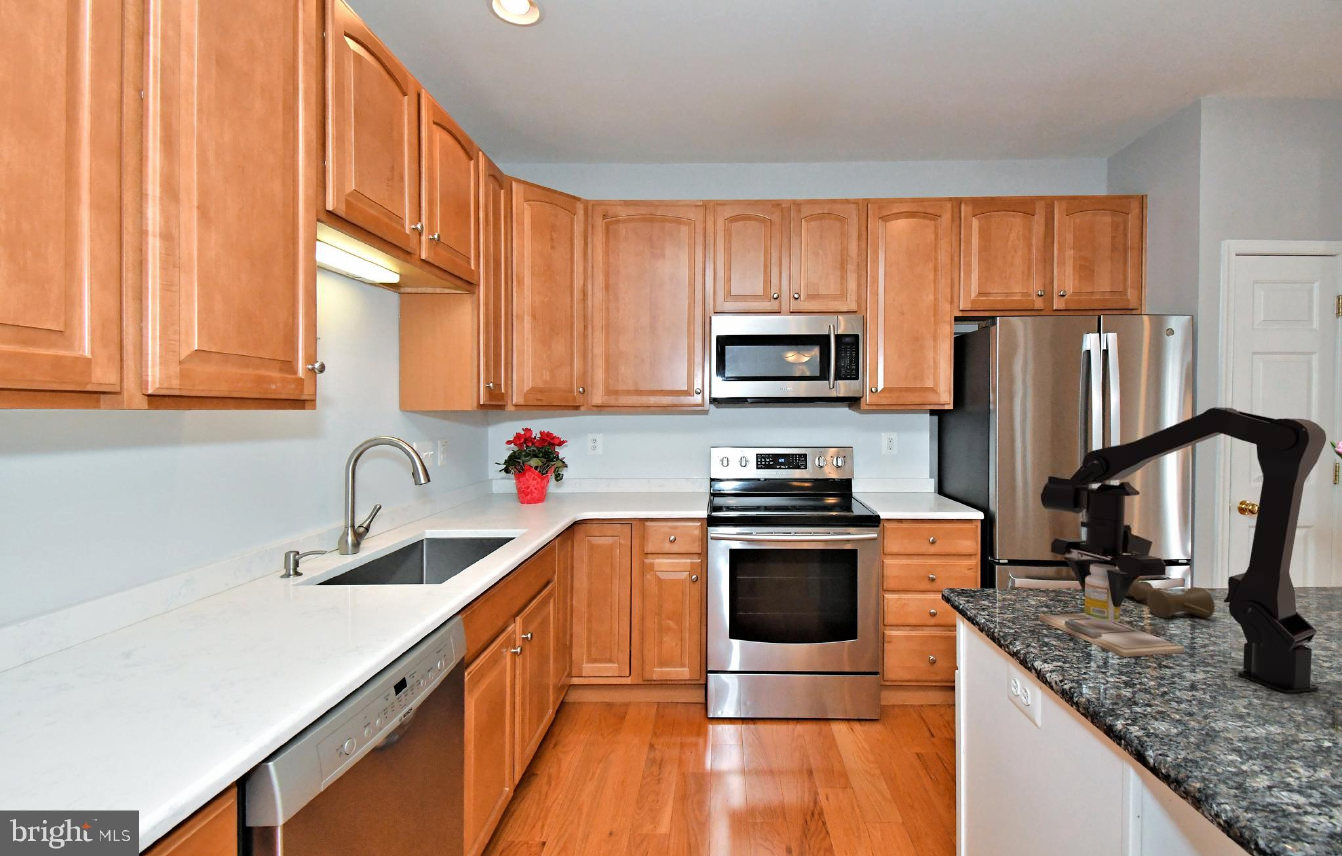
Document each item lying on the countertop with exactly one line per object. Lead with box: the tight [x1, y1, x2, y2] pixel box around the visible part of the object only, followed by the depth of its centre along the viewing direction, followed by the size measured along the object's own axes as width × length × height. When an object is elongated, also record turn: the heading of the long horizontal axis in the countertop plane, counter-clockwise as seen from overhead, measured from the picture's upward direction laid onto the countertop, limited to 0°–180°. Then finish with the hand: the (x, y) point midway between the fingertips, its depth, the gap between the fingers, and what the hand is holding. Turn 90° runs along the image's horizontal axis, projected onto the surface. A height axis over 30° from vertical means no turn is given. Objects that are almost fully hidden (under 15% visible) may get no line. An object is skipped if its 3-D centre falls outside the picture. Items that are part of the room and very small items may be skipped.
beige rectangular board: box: [1038, 612, 1185, 658], centre depth 110 cm, size 18×12×2 cm, turn 11°
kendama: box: [1125, 578, 1215, 619], centre depth 125 cm, size 6×10×20 cm
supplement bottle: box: [1083, 563, 1121, 623], centre depth 112 cm, size 5×5×10 cm
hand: (1102, 601), depth 112 cm, fingers closed on supplement bottle, 5 cm apart
